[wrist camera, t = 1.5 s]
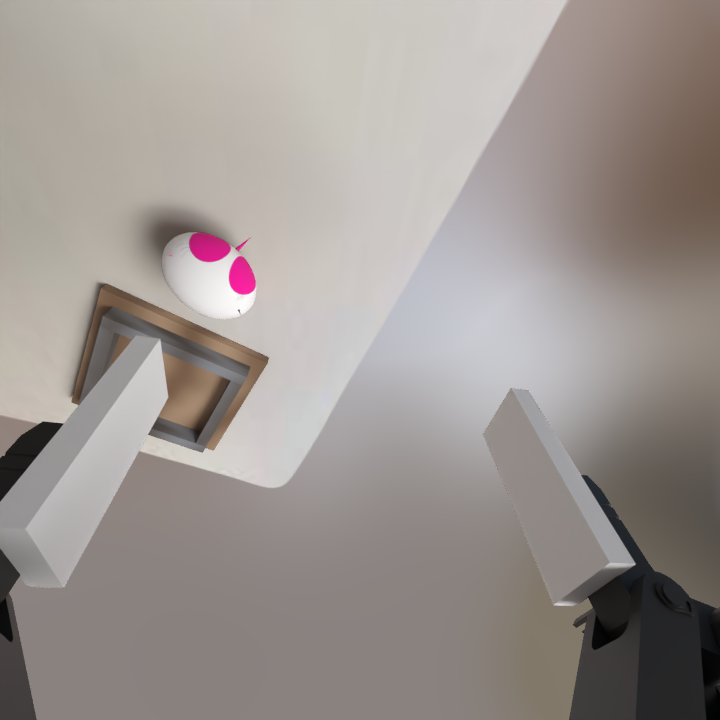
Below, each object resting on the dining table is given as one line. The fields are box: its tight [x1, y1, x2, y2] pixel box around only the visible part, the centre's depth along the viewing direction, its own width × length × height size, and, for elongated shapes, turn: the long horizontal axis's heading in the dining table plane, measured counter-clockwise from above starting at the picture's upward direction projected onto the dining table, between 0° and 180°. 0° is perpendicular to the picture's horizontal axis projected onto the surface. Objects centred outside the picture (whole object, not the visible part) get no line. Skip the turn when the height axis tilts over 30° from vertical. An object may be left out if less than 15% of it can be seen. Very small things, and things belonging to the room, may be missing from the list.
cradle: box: [72, 284, 269, 452], centre depth 39 cm, size 16×16×3 cm
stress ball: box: [162, 232, 256, 319], centre depth 29 cm, size 8×8×7 cm
